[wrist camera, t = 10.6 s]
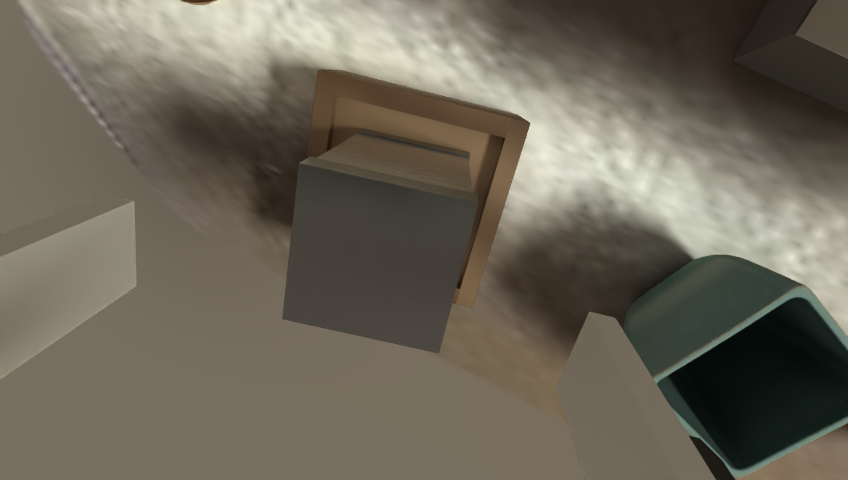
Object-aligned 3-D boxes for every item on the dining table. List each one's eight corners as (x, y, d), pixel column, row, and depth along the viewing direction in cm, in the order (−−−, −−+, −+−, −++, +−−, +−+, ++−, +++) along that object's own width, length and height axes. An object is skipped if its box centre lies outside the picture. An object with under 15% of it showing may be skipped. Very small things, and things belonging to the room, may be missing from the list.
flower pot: (664, 378, 32) (737, 484, 24) (589, 302, 31) (639, 387, 22) (775, 307, 30) (900, 398, 21) (700, 219, 28) (804, 281, 20)
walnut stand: (341, 70, 26) (318, 69, 22) (517, 114, 27) (530, 123, 22) (316, 236, 30) (292, 264, 26) (469, 273, 30) (471, 307, 26)
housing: (345, 230, 26) (282, 319, 16) (361, 128, 23) (299, 163, 14) (445, 252, 26) (438, 353, 16) (469, 152, 24) (478, 203, 14)
